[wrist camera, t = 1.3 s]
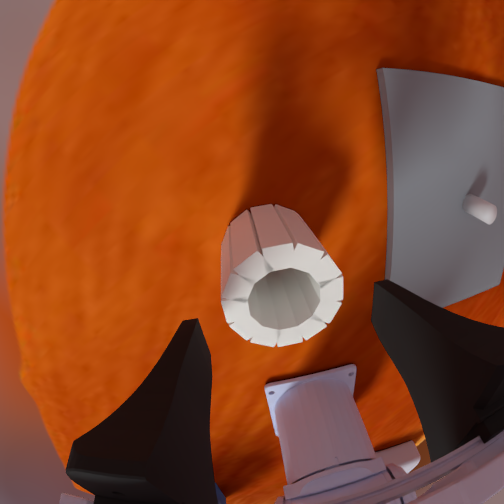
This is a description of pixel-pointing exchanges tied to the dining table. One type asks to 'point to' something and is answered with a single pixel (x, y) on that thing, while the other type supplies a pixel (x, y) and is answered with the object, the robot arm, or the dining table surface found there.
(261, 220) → the paper roll
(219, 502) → the milk carton
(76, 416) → the dining table surface
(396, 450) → the charger
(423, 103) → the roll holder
